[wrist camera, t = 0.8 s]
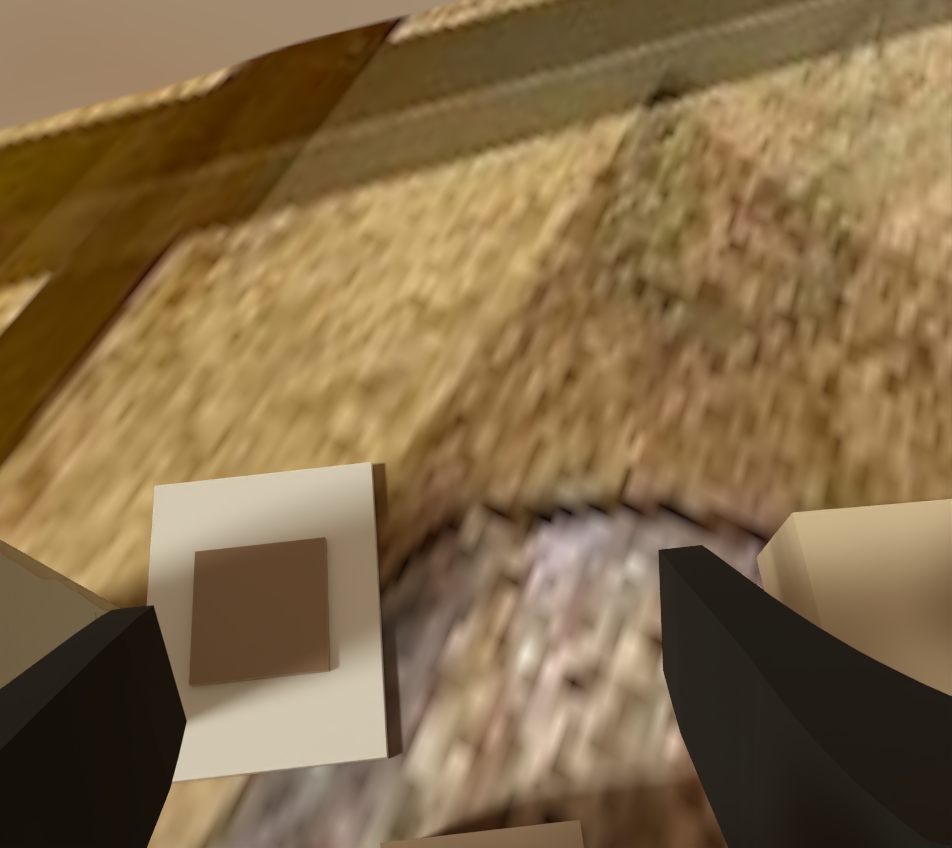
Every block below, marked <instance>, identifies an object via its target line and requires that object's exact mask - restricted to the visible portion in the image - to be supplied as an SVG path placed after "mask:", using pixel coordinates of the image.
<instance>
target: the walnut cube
mask: <svg viewBox="0 0 952 848" xmlns="http://www.w3.org/2000/svg"><path fill="white" fill-rule="evenodd" d="M381 848H584V844H583V837H582V831H581V824H580V820H574V821H565V822H557V823H548V824H539V825H531V826H522V827H513V828H505V829H496V830H488V831H479V832H470V833H462V834H453V835H444V836H436V837H427V838H418V839H410V840H401V841H393V842H384V843H381Z"/></svg>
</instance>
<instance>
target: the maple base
mask: <svg viewBox="0 0 952 848" xmlns="http://www.w3.org/2000/svg"><path fill="white" fill-rule="evenodd" d="M757 562H758V566H759V570H760V575H761V579H762V583H763V588H764V591H765V592H767V593H768V594H770V595H771V596H773V597H774V598H775V599H777V600H778V601H780V602H781V603H783V604H784V605H786V606H787V607H789V608H790V609H792V610H793V611H794V612H796V613H797V614H799V615H801V616H802V617H804V618H805V619H807V620H808V621H810V622H811V623H813V624H815V625H816V626H818V627H819V628H821V629H823V630H824V631H826V632H828V633H829V634H831V635H833V636H834V637H836V638H838V639H839V640H841V641H843V642H844V643H846V644H848V645H849V646H851V647H853V648H855V649H856V650H858V651H860V652H862V653H864V654H865V655H867V656H869V657H871V658H873V659H875V660H877V661H879V662H881V663H883V664H885V665H887V666H889V667H891V668H893V669H895V670H897V671H899V672H901V673H903V674H905V675H907V676H909V677H911V678H913V679H915V680H917V681H919V682H921V683H923V684H925V685H928V686H930V687H932V688H934V689H937V690H939V691H941V692H943V693H946V694H948V695H950V696H952V499H946V500H934V501H923V502H911V503H899V504H888V505H876V506H864V507H853V508H841V509H829V510H818V511H806V512H794V513H792V514H791V515H790V516H789V518H788V519H787V520H786V521H785V523H784V524H783V525H782V526H781V528H780V529H779V530H778V531H777V533H776V534H775V535H774V536H773V538H772V539H771V540H770V541H769V542H768V544H767V545H766V546H765V547H764V549H763V550H762V551H761V552H760V554H759V555H758V556H757Z"/></svg>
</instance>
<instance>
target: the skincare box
mask: <svg viewBox="0 0 952 848" xmlns="http://www.w3.org/2000/svg"><path fill="white" fill-rule="evenodd" d="M115 609H121V608H120V607H118V606H116V605H114V604H112V603H110V602H108V601H107V600H105V599H103V598H102V597H100V596H98V595H96V594H95V593H93V592H91V591H89V590H88V589H86V588H84V587H83V586H81V585H79V584H77V583H75V582H74V581H72V580H70V579H68V578H67V577H65V576H63V575H61V574H60V573H58V572H56V571H54V570H52V569H51V568H49V567H47V566H45V565H44V564H42V563H40V562H39V561H37V560H35V559H33V558H32V557H30V556H28V555H26V554H25V553H23V552H21V551H19V550H18V549H16V548H14V547H12V546H10V545H9V544H7V543H5V542H3V541H1V540H0V689H1V688H2V687H4V686H5V685H6V684H8V683H9V682H10V681H12V680H13V679H14V678H16V677H17V676H19V675H20V674H21V673H23V672H24V671H25V670H27V669H28V668H29V667H31V666H32V665H33V664H35V663H36V662H38V661H39V660H40V659H42V658H43V657H44V656H46V655H47V654H48V653H50V652H51V651H52V650H54V649H55V648H56V647H58V646H59V645H60V644H62V643H63V642H65V641H66V640H67V639H69V638H70V637H71V636H73V635H74V634H76V633H77V632H78V631H80V630H81V629H83V628H84V627H85V626H87V625H88V624H90V623H91V622H93V621H94V620H96V619H97V618H99V617H100V616H102V615H104V614H105V613H107V612H109V611H111V610H115Z"/></svg>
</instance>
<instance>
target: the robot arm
mask: <svg viewBox="0 0 952 848" xmlns="http://www.w3.org/2000/svg"><path fill="white" fill-rule="evenodd" d="M659 574H660V599H661V625H662V651H663V671H664V675H665V679H666V682H667V686H668V690H669V693H670V697H671V701H672V705H673V708H674V712H675V715H676V719H677V722H678V726H679V729H680V733H681V735H682V738H683V740H684V742H685V745H686V747H687V750H688V752H689V755H690V757H691V759H692V762H693V764H694V767H695V769H696V772H697V774H698V776H699V779H700V781H701V784H702V786H703V788H704V791H705V793H706V795H707V798H708V800H709V802H710V805H711V807H712V810H713V812H714V814H715V817H716V819H717V821H718V824H719V826H720V828H721V831H722V833H723V836H724V838H725V840H726V843H727V845H728V847H729V848H952V696H950V695H948V694H946V693H943V692H941V691H939V690H937V689H934V688H932V687H930V686H928V685H925V684H923V683H921V682H919V681H917V680H915V679H913V678H911V677H909V676H907V675H905V674H903V673H901V672H899V671H897V670H895V669H893V668H891V667H889V666H887V665H885V664H883V663H881V662H879V661H877V660H875V659H873V658H871V657H869V656H867V655H865V654H864V653H862V652H860V651H858V650H856V649H855V648H853V647H851V646H849V645H848V644H846V643H844V642H843V641H841V640H839V639H838V638H836V637H834V636H833V635H831V634H829V633H828V632H826V631H824V630H823V629H821V628H819V627H818V626H816V625H815V624H813V623H811V622H810V621H808V620H807V619H805V618H804V617H802V616H801V615H799V614H797V613H796V612H794V611H793V610H792V609H790V608H789V607H787V606H786V605H784V604H783V603H781V602H780V601H778V600H777V599H775V598H774V597H773V596H771V595H770V594H768V593H767V592H765V591H764V590H763V589H761V588H760V587H758V586H757V585H756V584H754V583H753V582H752V581H750V580H749V579H748V578H746V577H745V576H743V575H742V574H741V573H739V572H738V571H737V570H735V569H734V568H733V567H731V566H730V565H729V564H727V563H726V562H725V561H723V560H722V559H721V558H719V557H718V556H717V555H715V554H714V553H712V552H711V551H710V550H708V549H707V548H705V547H704V546H702V545H699V546H690V547H681V548H672V549H663V550H659ZM186 723H187V720H186V716H185V713H184V709H183V706H182V702H181V699H180V696H179V692H178V689H177V685H176V682H175V678H174V675H173V671H172V668H171V664H170V661H169V657H168V654H167V650H166V647H165V643H164V640H163V636H162V633H161V629H160V626H159V622H158V619H157V615H156V612H155V608H154V605H151V606H142V607H133V608H124V609H115V610H111V611H109V612H107V613H105V614H104V615H102V616H100V617H99V618H97V619H96V620H94V621H93V622H91V623H90V624H88V625H87V626H85V627H84V628H83V629H81V630H80V631H78V632H77V633H76V634H74V635H73V636H71V637H70V638H69V639H67V640H66V641H65V642H63V643H62V644H60V645H59V646H58V647H56V648H55V649H54V650H52V651H51V652H50V653H48V654H47V655H46V656H44V657H43V658H42V659H40V660H39V661H38V662H36V663H35V664H33V665H32V666H31V667H29V668H28V669H27V670H25V671H24V672H23V673H21V674H20V675H19V676H17V677H16V678H14V679H13V680H12V681H10V682H9V683H8V684H6V685H5V686H4V687H2V688H1V689H0V848H147V846H148V843H149V841H150V838H151V836H152V833H153V831H154V828H155V826H156V823H157V821H158V818H159V816H160V813H161V811H162V808H163V806H164V803H165V800H166V798H167V795H168V793H169V790H170V787H171V784H172V780H173V776H174V773H175V769H176V765H177V761H178V758H179V753H180V749H181V745H182V740H183V736H184V732H185V727H186Z"/></svg>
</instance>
